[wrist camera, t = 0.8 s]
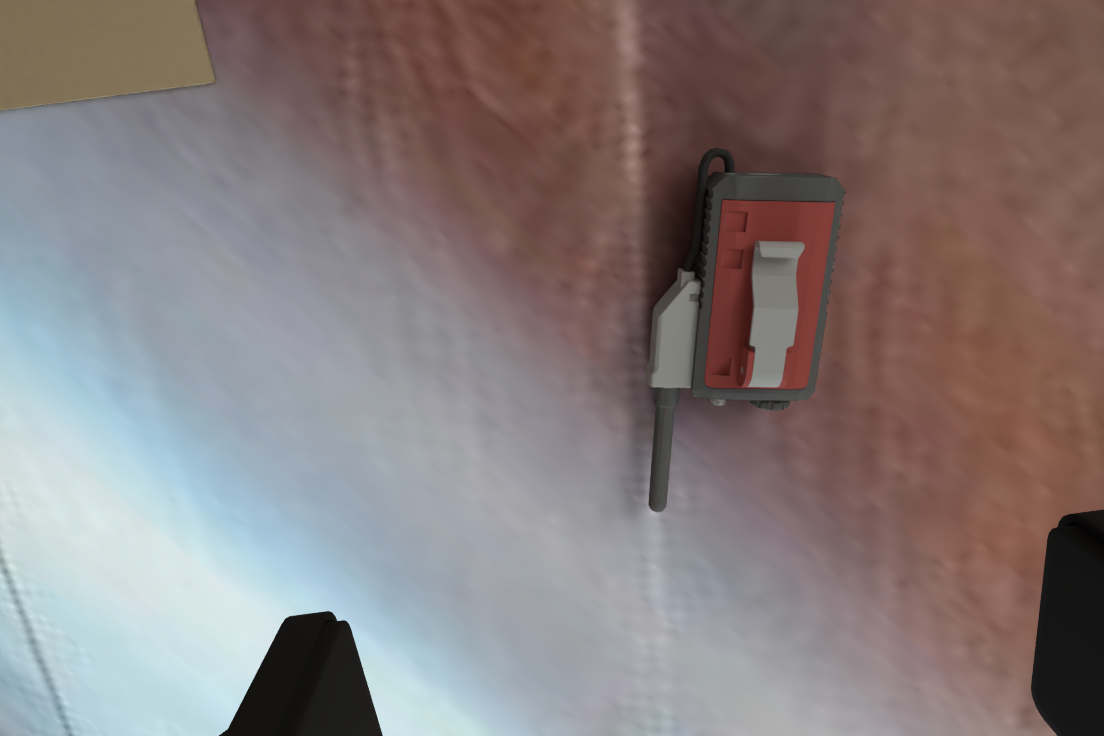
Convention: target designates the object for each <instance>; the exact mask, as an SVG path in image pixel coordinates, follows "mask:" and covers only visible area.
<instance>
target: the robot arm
mask: <svg viewBox="0 0 1104 736" xmlns="http://www.w3.org/2000/svg"><path fill="white" fill-rule="evenodd" d="M1031 692H1032V696H1033V700H1034V703H1035V705H1036V707H1037V709H1038V711H1039V713H1040V715H1041V716H1042V717H1043V719H1044V720H1045V721H1046V722H1047V724H1048V725H1049V726H1050V727H1051V728H1052V730H1053V731H1054V732H1055V733H1056V734H1057V736H1104V510H1098V511H1090V512H1082V513H1075V514H1068V515H1066V516H1063V517H1062V519H1061V520H1060V521H1059V524H1058V527H1057V528H1054V529H1052V530H1051V531H1050V532H1049V535H1048V539H1047V548H1046V557H1045V566H1044V575H1043V584H1042V593H1041V602H1040V611H1039V620H1038V629H1037V638H1036V647H1035V656H1034V665H1033V674H1032V683H1031ZM219 736H383V735H382V732H381V728H380V725H379V722H378V718H377V715H376V712H375V708H374V705H373V702H372V698H371V695H370V691H369V688H368V685H367V681H366V678H365V675H364V671H363V668H362V665H361V661H360V658H359V655H358V651H357V648H356V644H355V641H354V638H353V634H352V631H351V628H350V626H349V624H348V622H347V621H344V620H343V621H337V619H336V617H335V615H334V614H333V613H332V612H329V611H326V612H319V613H311V614H303V615H296V616H289V617H288V618H286V619H285V620H284V622H283V623H282V624H281V626H280V628H279V630H278V632H277V634H276V636H275V638H274V640H273V642H272V644H271V646H270V648H269V650H268V652H267V654H266V656H265V658H264V660H263V662H262V664H261V665H260V667H259V669H258V671H257V673H256V675H255V677H254V679H253V681H252V683H251V685H250V687H249V689H248V691H247V693H246V695H245V697H244V699H243V701H242V703H241V705H240V706H239V708H238V710H237V712H236V714H235V716H234V718H233V720H232V722H231V724H230V726H229V728H228V730H226V731H225V732H223V733H222V734H221V735H219Z"/></svg>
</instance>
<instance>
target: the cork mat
mask: <svg viewBox="0 0 1104 736" xmlns="http://www.w3.org/2000/svg"><path fill="white" fill-rule="evenodd" d="M209 83H216V80H215V76H214V72H213V68H212V65H211V61H210V57H209V53H208V49H207V45H206V41H205V37H204V34H203V30H202V26H201V22H200V18H199V14H198V10H197V7H196V3H195V0H0V111H1V110H9V109H17V108H24V107H32V106H40V105H47V104H55V103H63V102H70V101H78V100H86V99H93V98H101V97H109V96H116V95H124V94H132V93H139V92H147V91H155V90H162V89H170V88H178V87H185V86H193V85H201V84H209Z"/></svg>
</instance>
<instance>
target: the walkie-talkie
mask: <svg viewBox="0 0 1104 736" xmlns="http://www.w3.org/2000/svg"><path fill="white" fill-rule="evenodd" d="M717 156H718V157H721V158H722V159H723V160H724V164H725V172H714V173H713V174H712V175H711V176H709V177H708V178H707V173H708V168H709V164H710V162H711V160H712V159H713V158H714V157H717ZM845 193H846V192H845V190H844V189H843V187H842V186H841V184H840V182H839V181H838V179H837V178H835V177H830V176H824V175H819V174H793V173H748V172H734V160H733V157H732V155H731V154H730V153H729V151H726V150H723V149H720V148H714V149H710V150H709V151H707V152H706V153H705V154H704V156H703V157H702V160H701V162H700V165H699V170H698V182H697V193H696V205H695V216H694V228H693V237H692V245H691V250H690V252H689V254H688V256H687V257H686V259H685V261H684V264H683V268H678V275H677V280H676V281H675V283H674V284H673V285H672V286H671V287H670V288H669V290H668V291H667V292H666V293H665V294H664V295H663V297H662V298H661V299H660V300H659V301H658V302H657V304H656V305H655V306H654V308H653V316H652V329H651V342H650V355H649V361H648V362H647V364H646V378H647V381H648V383H649V386H651V387H655V392H654V403H655V404H656V412H655V425H654V438H653V451H652V464H651V477H650V490H649V507H650V508H651V509H652V510H653V511H655V512H661V511H663V510H664V509H665V507H666V503H667V491H668V479H669V467H670V456H671V444H672V432H673V420H674V408H675V406H676V405H677V404H678V396H679V388H691V389H692V395H693V396H694V397H698V398H706V399H710V403H711V404H713V405H716V406H723V405H725V402H726V400H750V402H751V403H752V405H754V406H755V407H758V408H761V409H765V410H771V411H777V410H783V409H785V408H787V407H788V405H789V402H790V401H799V400H804V399H808V398H809V397H810V396H811V395H812V394H813V393H814V392H815V385H816V379H817V373H818V366H819V360H820V354H821V347H822V341H823V334H824V328H825V322H826V315H827V311H826V305H827V304H828V302H829V301H828V300H827V299H828V294H830V290H829V286H830V283H832V280H831V273H832V272H833V270H834V269H833V268H832V266H833V262H834V261H835V258H834V254H835V251H836V250H837V247H836V241H837V239H838V238H839V236H838V235H837V234H838V229H839V228H840V224H839V222H840V217H842V213H841V209H842V206H843V205H844V201H843V196H844V194H845ZM694 262H695V267H694V268H693V271H694V272H693V271H692V265H693V263H694Z"/></svg>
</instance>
